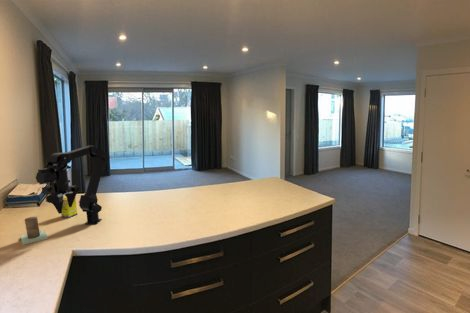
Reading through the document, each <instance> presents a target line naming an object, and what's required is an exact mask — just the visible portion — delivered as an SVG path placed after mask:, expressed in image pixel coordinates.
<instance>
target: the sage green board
mask: <svg viewBox="0 0 470 313" xmlns="http://www.w3.org/2000/svg"><path fill="white" fill-rule="evenodd" d="M39 232H40V236H38V237H36V238H31V239H29V238H28V236H27V234H23V235H20V238H21V239H20V240H21V245H22V246H23V245H27V244H31V243H35V242H40V241H44V240H48V235H47V233H46V230H41V231H40V230H39Z"/></svg>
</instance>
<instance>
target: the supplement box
mask: <svg viewBox="0 0 470 313" xmlns="http://www.w3.org/2000/svg"><path fill="white" fill-rule="evenodd" d="M63 200H64V202H63V208H62V213H61V214H60V215H61V218H67V219H71V218H73V217H75V216H77V215H78V209H77V208H78V207H77V201H76V197H75V199H74V202H73V204H72V207H69V205H68V201H67V197H66V196H63Z"/></svg>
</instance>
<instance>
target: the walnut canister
mask: <svg viewBox="0 0 470 313" xmlns="http://www.w3.org/2000/svg"><path fill="white" fill-rule="evenodd" d="M24 225H25V230H26V235H27V236H28V238H29V239H31V238H36V237H38V236H40V226H39V220H38V217H37V216H30V217H26V218H25V219H24Z"/></svg>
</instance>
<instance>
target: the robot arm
mask: <svg viewBox="0 0 470 313" xmlns="http://www.w3.org/2000/svg"><path fill="white" fill-rule="evenodd" d="M87 155H88V156H89V157H90V158H91V163H92V166H93V167H92V171H91V174H90V177H89V182H88V185H87V188H86V192H85V194H84V195H83V194H81V195H80V196H79V201H78V204H79V208H80V209H81V210H82V213H86V222H85V223H84V225H97V224H99V223H100V222H101V221H102V218H100V217H99V213H100V212H101V211H102V208H103V207H102V205H100V204H99V203H98V201H99V200H98V197H97V193H98V190H99V185H100V181H101V179H102V178H101V177H102V173H103V170H104V168H105V167H106V166H107V165H108V162H109V160H110V154H109V153H108V152H106V151H104V150H102V149H100V148H98V147H96V146H95V145H85V146H82V147H80V148H76V149H73V150H71V151H70V150H69V151H67V152H54V153H52V154H50V156H49V159H48V161H47V163H46V165H45V168H40V169H37V170H38V171H37V173H36V175H35V180H36V182H37V183H38V184H39V185H46V184H49V183H52V185H50V186H48V185H46V186H43V187H41V193H42V194H43V195H45V196H46V197H45V202H46V203H48V204H51V205H53V206H54V208H55V209H56V212H57V213H58V214H59V215H61V213H62V208H63V202H64V200H63V197H67V201H68V205H69V207H72V204H73V202H74V199H75V198H76V196H77V194H78V192H79V190H80V188H79V186H78V185H77V184H76V185H70V183H71V179H69V175H68V169H71V168H72V167H71V166H70V165H68V164H70V163H71V162H72V161H73V160H77V159H78V158H82V157H85V156H87Z"/></svg>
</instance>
